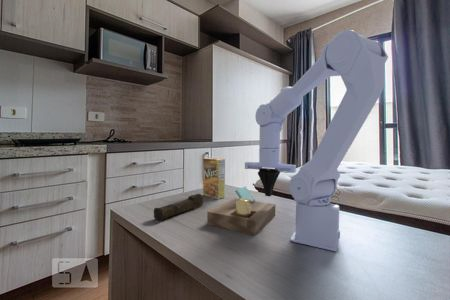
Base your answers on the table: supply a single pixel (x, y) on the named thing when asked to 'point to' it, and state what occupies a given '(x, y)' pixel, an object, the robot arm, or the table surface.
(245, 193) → the teal flat square block
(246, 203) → the peg
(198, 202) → the dark brown log
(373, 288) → the table surface
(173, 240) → the table surface
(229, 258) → the table surface
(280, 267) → the table surface
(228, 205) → the block
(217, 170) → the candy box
